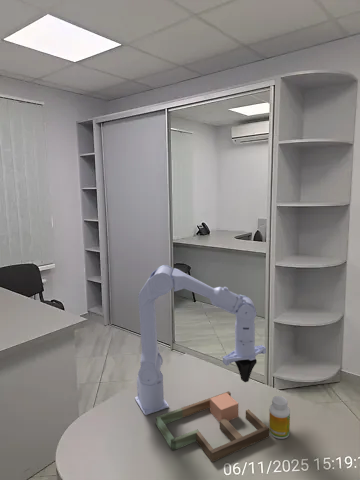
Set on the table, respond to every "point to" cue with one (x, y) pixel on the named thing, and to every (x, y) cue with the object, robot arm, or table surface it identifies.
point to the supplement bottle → (279, 418)
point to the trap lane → (231, 433)
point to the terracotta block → (224, 407)
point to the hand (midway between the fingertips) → (244, 380)
